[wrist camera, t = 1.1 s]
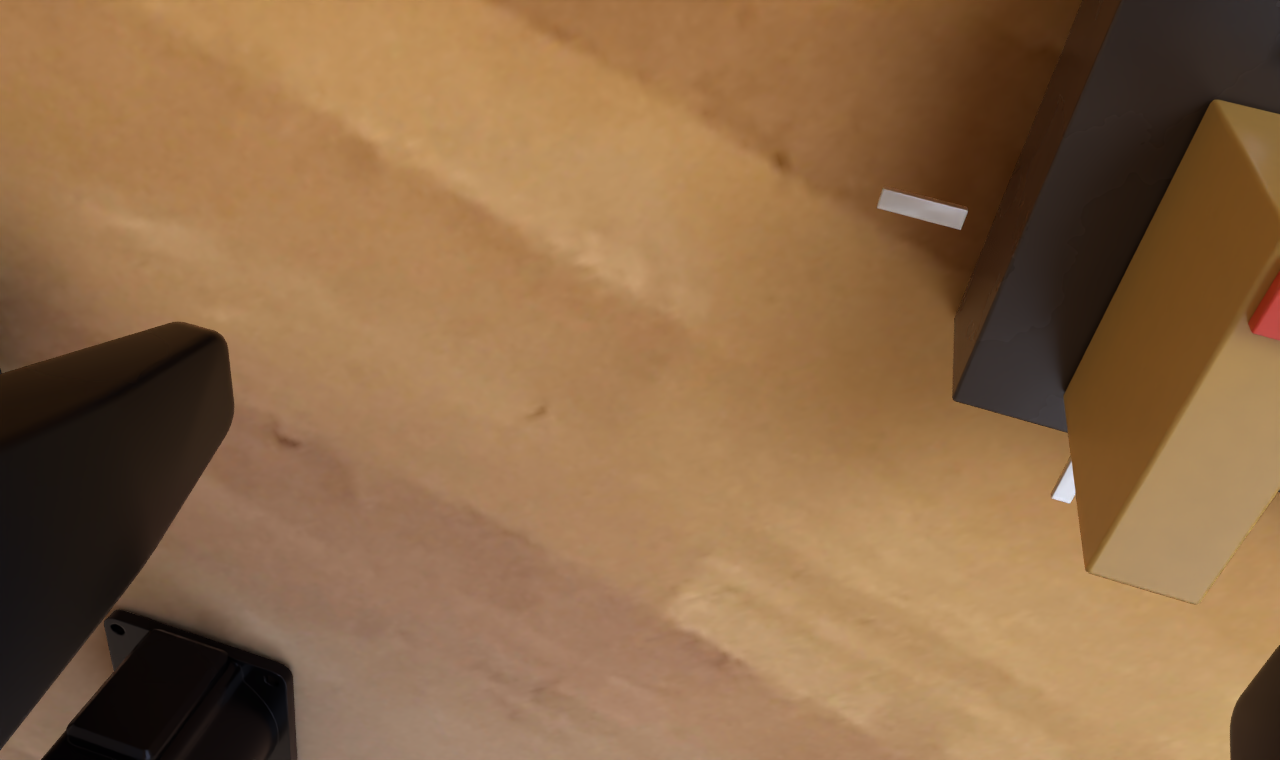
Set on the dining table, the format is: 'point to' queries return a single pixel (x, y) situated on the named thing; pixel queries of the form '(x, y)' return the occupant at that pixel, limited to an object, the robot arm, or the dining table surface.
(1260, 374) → the lock turn
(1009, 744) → the dining table surface
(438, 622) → the dining table surface
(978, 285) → the plate
